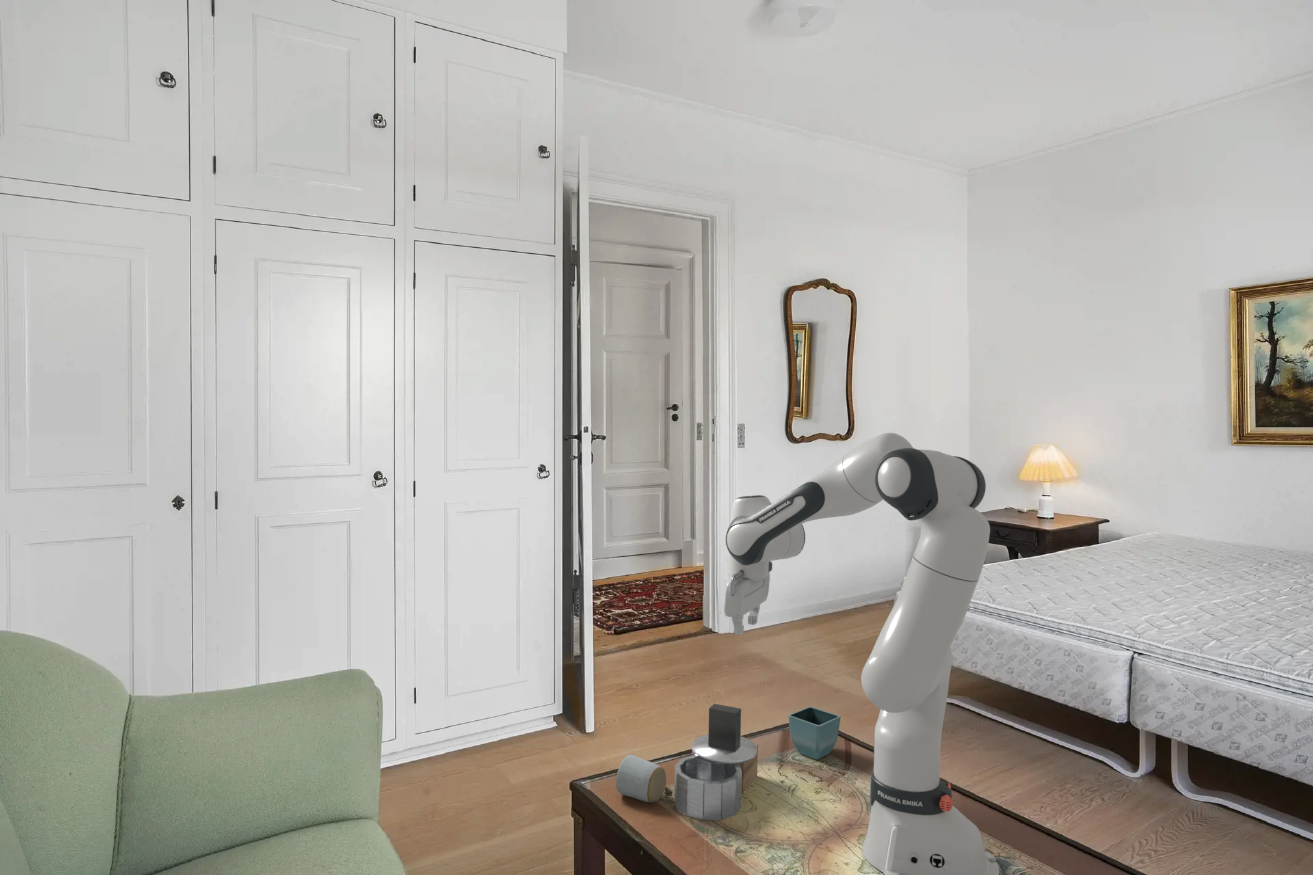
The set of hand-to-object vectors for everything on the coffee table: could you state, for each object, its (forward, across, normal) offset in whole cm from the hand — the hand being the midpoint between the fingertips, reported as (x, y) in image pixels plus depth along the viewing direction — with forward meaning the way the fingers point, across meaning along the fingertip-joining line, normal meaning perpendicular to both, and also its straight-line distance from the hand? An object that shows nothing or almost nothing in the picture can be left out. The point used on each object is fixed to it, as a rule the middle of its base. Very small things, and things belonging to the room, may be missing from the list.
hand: (745, 628), depth 175 cm
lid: (+23, -13, 0) cm, 26 cm away
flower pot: (+30, +11, -14) cm, 35 cm away
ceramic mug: (+30, -24, +12) cm, 41 cm away
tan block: (+30, -10, 0) cm, 32 cm away
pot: (+30, -22, 0) cm, 37 cm away
